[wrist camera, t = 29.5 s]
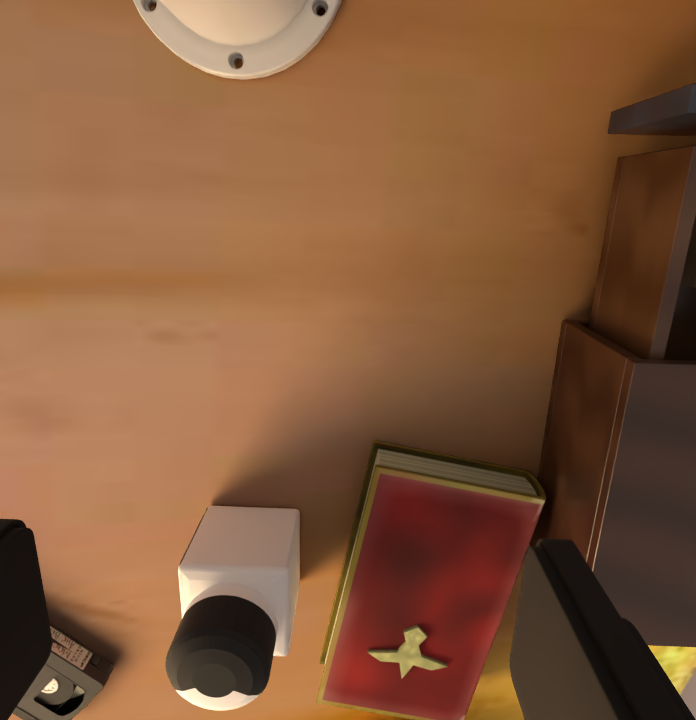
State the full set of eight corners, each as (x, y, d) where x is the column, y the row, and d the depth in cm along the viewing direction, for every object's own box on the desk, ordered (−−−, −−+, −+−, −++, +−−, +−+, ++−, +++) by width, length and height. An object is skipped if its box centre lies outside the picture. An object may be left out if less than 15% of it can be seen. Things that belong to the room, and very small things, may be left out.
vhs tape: (115, 666, 45) (104, 687, 43) (65, 715, 46) (53, 737, 44) (-29, 572, 42) (-48, 589, 40) (-76, 628, 44) (-96, 648, 42)
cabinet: (561, 319, 35) (634, 362, 26) (750, 325, 35) (891, 371, 25) (527, 541, 40) (577, 643, 31) (690, 547, 40) (790, 651, 31)
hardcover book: (532, 471, 38) (552, 503, 34) (456, 683, 44) (466, 732, 40) (373, 440, 38) (375, 469, 34) (320, 659, 44) (316, 706, 40)
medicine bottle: (207, 503, 40) (145, 627, 28) (300, 507, 39) (276, 633, 28) (212, 580, 42) (156, 725, 30) (300, 583, 42) (277, 730, 30)
